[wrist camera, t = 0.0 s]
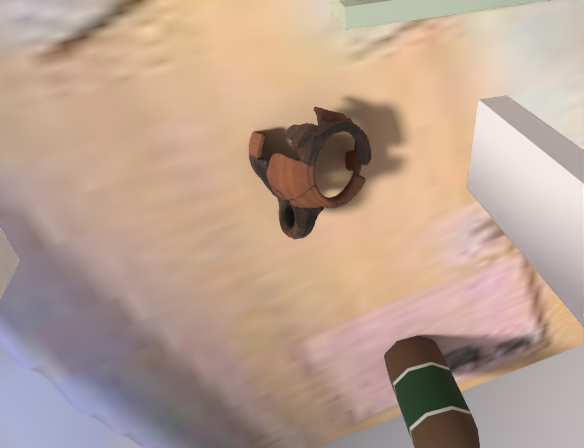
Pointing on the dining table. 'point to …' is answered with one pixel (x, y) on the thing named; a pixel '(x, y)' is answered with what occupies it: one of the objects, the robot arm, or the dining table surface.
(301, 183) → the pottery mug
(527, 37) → the dining table surface
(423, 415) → the beer bottle
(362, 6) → the end stop
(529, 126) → the robot arm
